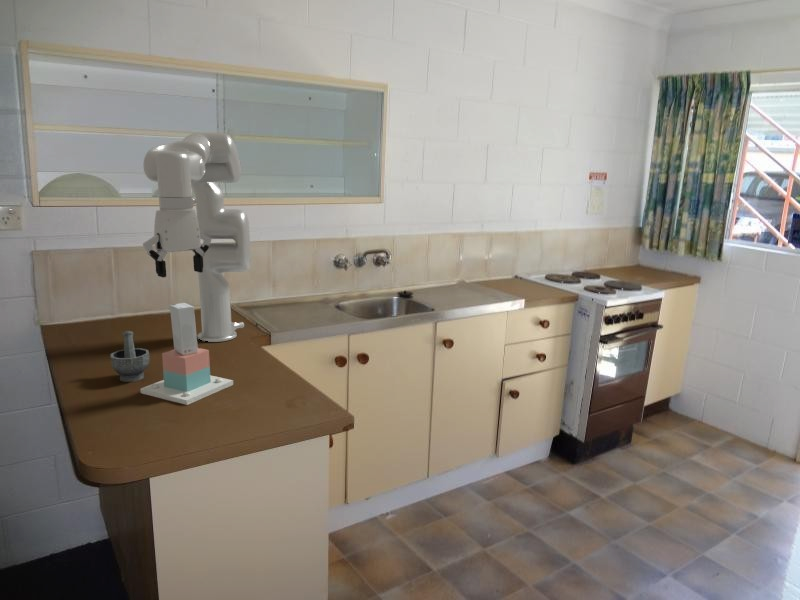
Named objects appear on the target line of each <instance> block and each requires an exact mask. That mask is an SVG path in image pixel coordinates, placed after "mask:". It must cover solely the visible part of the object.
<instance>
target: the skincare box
mask: <svg viewBox="0 0 800 600" xmlns="http://www.w3.org/2000/svg"><path fill="white" fill-rule="evenodd" d="M169 311H170V319H171V330H172V339H173V348H174V349H173V350H175V351H177V352H179V353H180V354H182V355H189V354H194V353H198V348H199V347H198V346H199V345H198V338H197V327H196V326H197V325H196V316H195V306H192V305H190V304H188V303H186V302H180V303H174V304H170V305H169Z"/></svg>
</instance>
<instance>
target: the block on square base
mask: <svg viewBox="0 0 800 600" xmlns="http://www.w3.org/2000/svg"><path fill="white" fill-rule="evenodd" d="M161 358H162V373H163V380H160V381H157V382H154V383H152V384H149V385H147V386H144V387H143V386H142V388H139V389H140V394H143V395H147V396H151V397H154V398H157V399H162V400H165V401H170V402H173V403H178V404H182V405H186V406H188V405H190V404H192V403H195V402H197V401H199V400H202V399H203V398H206V397H209V396H211V395H213V394H215V393H218V392H220V391H222V390H225V389H226V388H229V387H232V386H233V385H234V380H233V379H230V378H229V379H228V378H224V377H219V376H216V375H215V376H214V375H211V366H210V364H211V363H210V350H209V349H206V348H201V347H200V348H199V347H198V353H194V354H189V355H182V354H180V353H179V352H177V351H175V350H174V349H172V350H169V351H165V352H162V353H161Z"/></svg>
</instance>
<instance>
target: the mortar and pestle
mask: <svg viewBox="0 0 800 600" xmlns="http://www.w3.org/2000/svg"><path fill="white" fill-rule="evenodd" d="M122 337H123V349H120V350H116V351H114V352H112V353H110V363H111V367H112V368H113V370H114V371H115V373H117V374H118V375H119V381H121V382H125V383H127V382H129V383H131V382H136V381H141V380H143V379H144V378H145V374H144V371H146V370H147V369H148V366H149V364H150V352H149V349H146V348H141V347H140V348H139V347H137V348H135V343H134V338H133V337H134V332H133V331H131V330H126V331H124V332H122Z"/></svg>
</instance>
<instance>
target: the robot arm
mask: <svg viewBox="0 0 800 600" xmlns="http://www.w3.org/2000/svg"><path fill="white" fill-rule="evenodd" d="M142 168H143V172H144V174H145V176H146V178H147V179H148V180H149V181H152V182H155V183H157V189H158V200H159V202H158V203H159V206H158V207H159V210H156V211H155V217H154V227H153V228H154V230H153V232H154V234H153V235H154V236H153V237H151V238H149V239H148V240H146V241H144V242H143V243H142V247H143V248H144V250H145V251H146V252H147V253H146V254H147V255H149V256H150V257H151V259H152V260H154V261H155V263H154V264H155V273H156V274H157V277H160V278H166V277H167V264H166V261H165V260H164V258H165V257H166V255H167V254H168V253H179V252H187V251H192V253H193V254H194V255H193V257H192V259H193V271H194V272H196V273H197V275H198V278H197V279H198V288H199V303H200V306H199V307H200V320H201V331H200V332H199V333H198V334H196V336H197V340H199V339H200V340H202V341H201V342H205V341H208V342H207V343H220V342H221V343H222V342H227V341H230V340H233V339H235V338H236V337H237V335H238V333H237V332H236V331H237V329H243V328H245V323H244V322H243V321H240V322H235V321H234V322H233V321H232V311H231V293H230V291H231V290H230V288H231V287H230V283H229V282H228V280H227V279H226V277H224V275H223V274H222V273H243V272H247V271H248V270H249V269H250V267H251V258H252V257H251V239H250V236H251V235H250V222H249V217H248V215H247V213H246V212H245V211H244V210H242V209H234V208H233V209H232V208H230V209H229V208H228V209H227V208H225V201H224V197H225V196H224V192H223V191H222V189H221V188H220V186H219V185H218V184H217V183H220V184H224V183H225V184H233V183H236V182H239V180H240V178H241V176H242V166H241V162H240V157H239V153H238V148H237V145H236V144H235V141H234V139H233V138H232V137H231V136H230V134H227V133H224V132H192V133H191V134H188V135H187V136H186V137H184V138H183V139H182V140H180V141H175V142H170V143H165V144H160V145H156V146H154V147H151V148H150V149H148V151H147V152H146V154H145V155H144V158H143V167H142ZM192 191H193V192H192ZM193 193H194V197H195V198H193ZM194 205H195V208H196V210H195V209H193V208H194ZM201 240H202V243H201ZM212 240H233V241H234V242H212ZM153 246H154V248H155V250H154V248H153ZM200 340H199V341H200Z"/></svg>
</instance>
